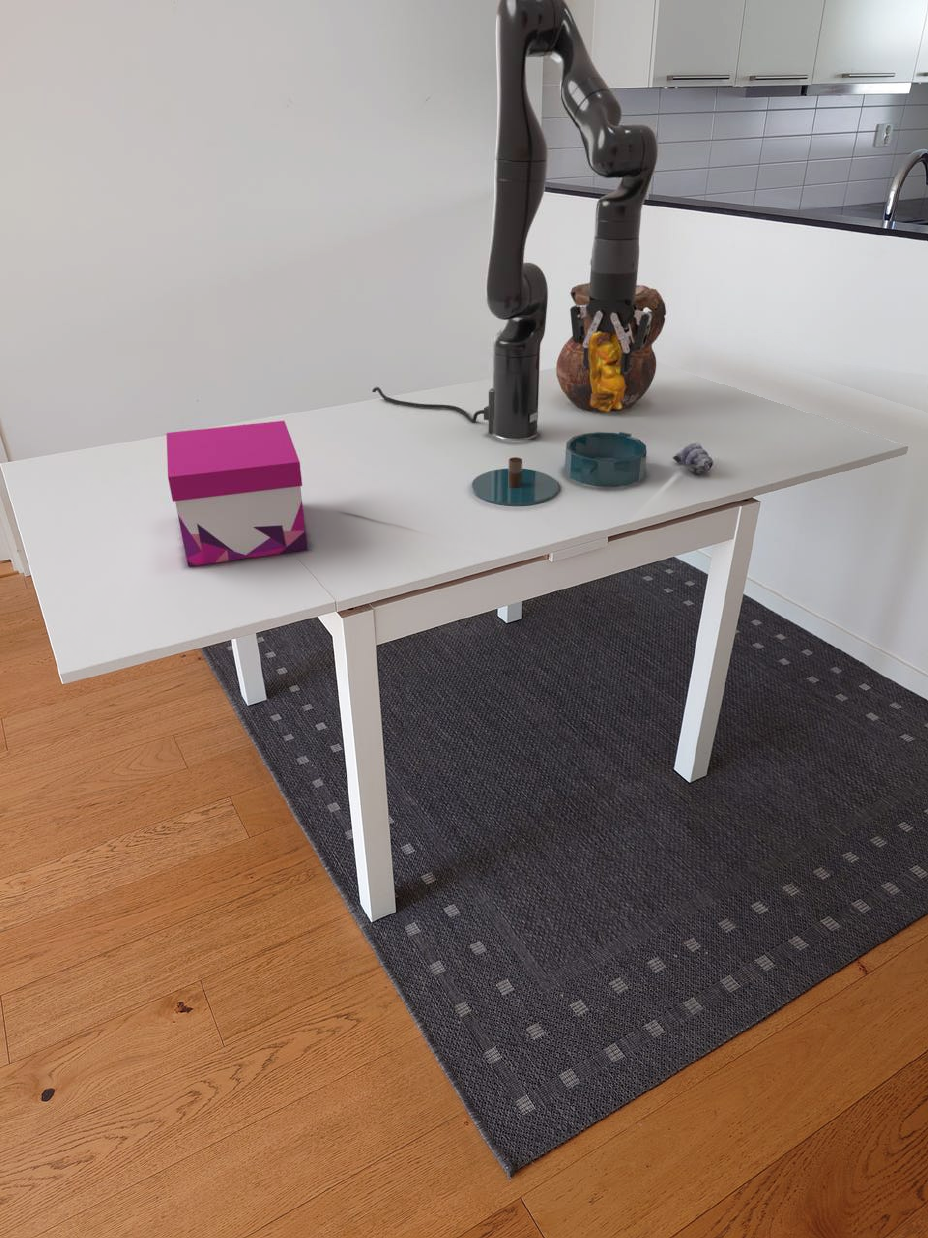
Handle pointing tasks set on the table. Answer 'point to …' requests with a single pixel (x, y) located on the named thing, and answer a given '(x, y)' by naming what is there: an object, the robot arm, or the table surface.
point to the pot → (605, 471)
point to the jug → (644, 361)
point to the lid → (514, 485)
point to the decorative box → (236, 492)
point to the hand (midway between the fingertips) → (606, 370)
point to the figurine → (605, 372)
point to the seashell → (694, 458)
